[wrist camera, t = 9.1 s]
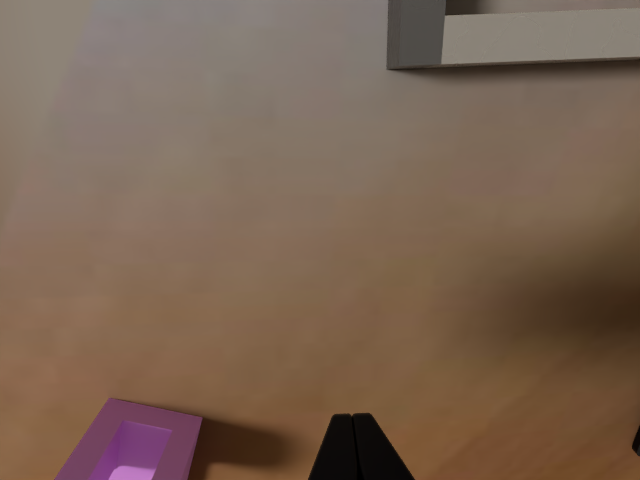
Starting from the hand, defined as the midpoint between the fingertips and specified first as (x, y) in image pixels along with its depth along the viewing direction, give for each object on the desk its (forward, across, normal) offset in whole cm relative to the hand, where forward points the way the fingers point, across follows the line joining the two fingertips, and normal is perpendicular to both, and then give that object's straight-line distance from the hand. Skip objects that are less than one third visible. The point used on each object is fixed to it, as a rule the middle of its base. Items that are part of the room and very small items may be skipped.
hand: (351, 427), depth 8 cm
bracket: (+11, +13, +17) cm, 24 cm away
